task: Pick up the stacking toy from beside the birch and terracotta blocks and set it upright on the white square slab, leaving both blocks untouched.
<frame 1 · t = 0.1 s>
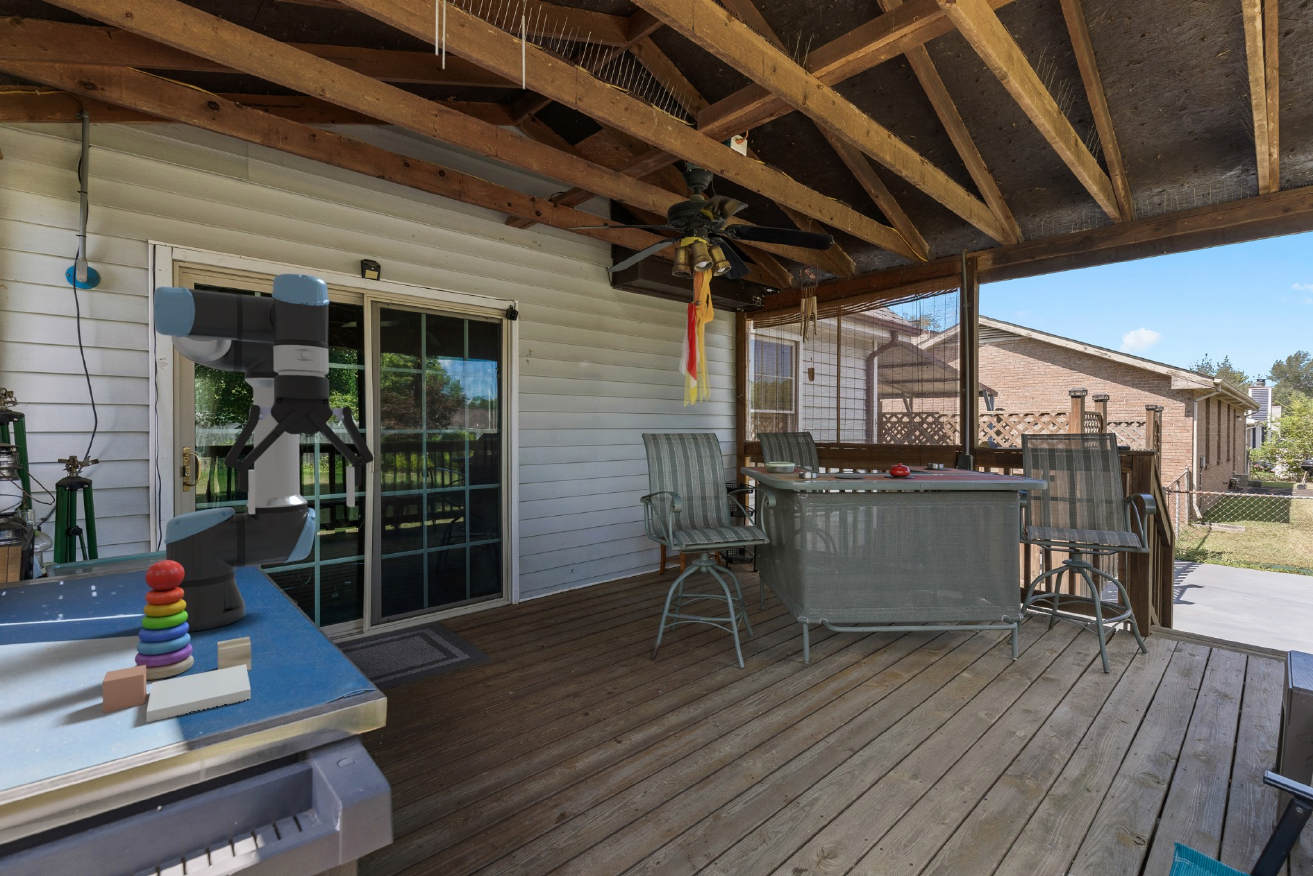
hand: (303, 509, 95), 28 cm above the table, tool pointing down, fingers open, 13 cm apart
terracotta block: (125, 703, 90), on the table
stacking toy: (164, 673, 101), on the table
birch block: (234, 669, 102), on the table
white square slab: (201, 695, 92), on the table
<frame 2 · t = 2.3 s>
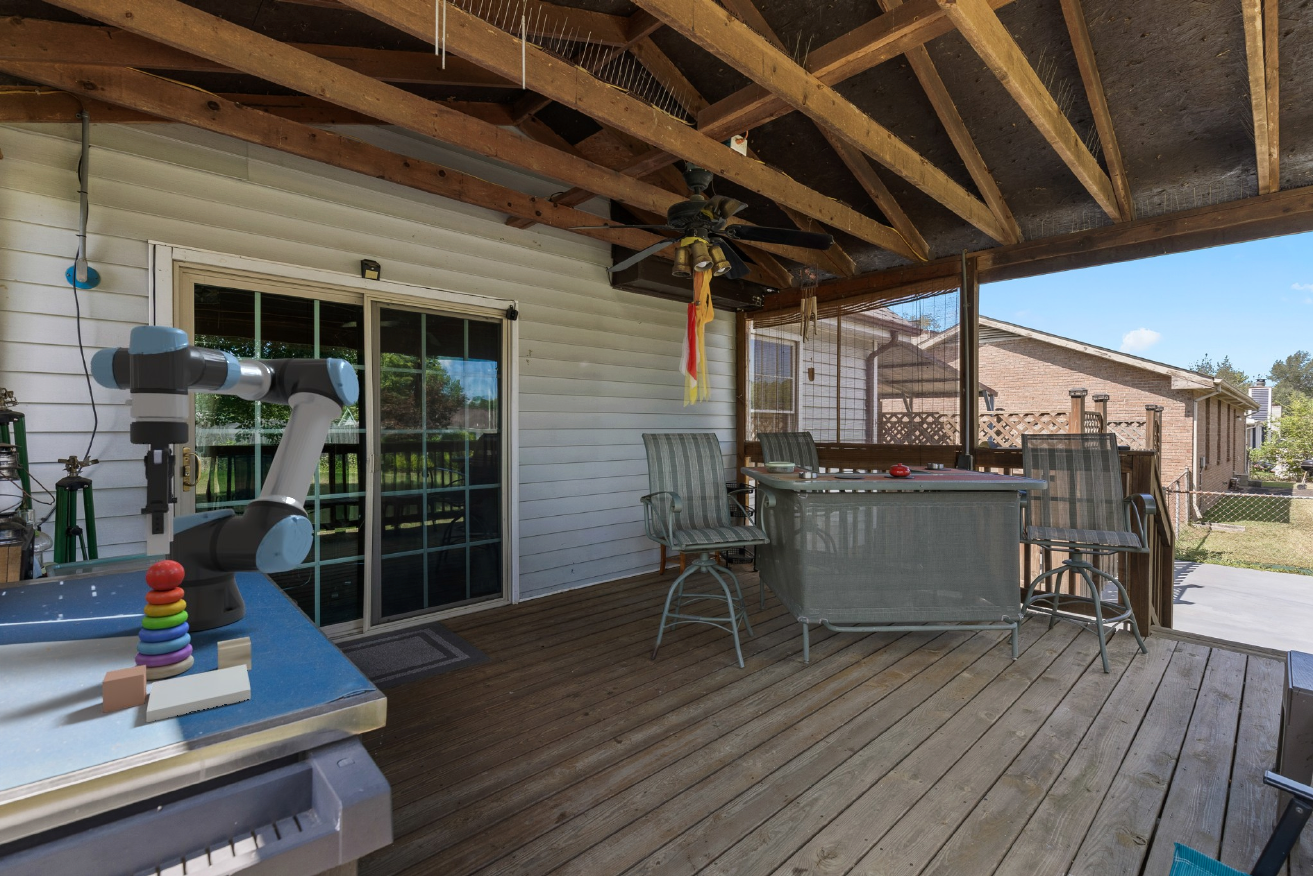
hand: (160, 548, 100), 21 cm above the table, tool pointing down, fingers open, 13 cm apart
nothing on the table moved.
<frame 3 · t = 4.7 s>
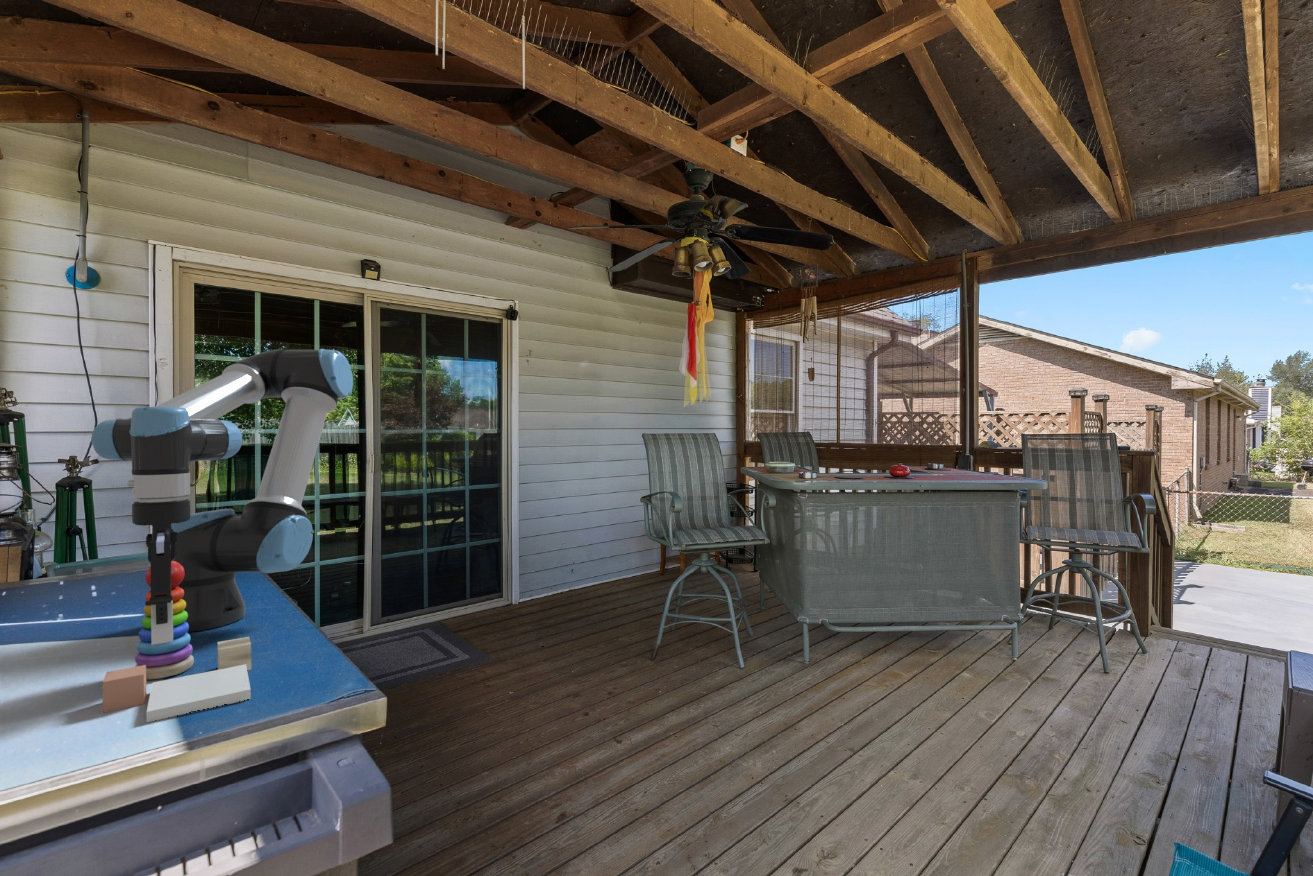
hand: (163, 635, 101), 6 cm above the table, tool pointing down, fingers closed on stacking toy, 7 cm apart
stacking toy: (164, 672, 101), on the table, touching gripper
everything else where it was.
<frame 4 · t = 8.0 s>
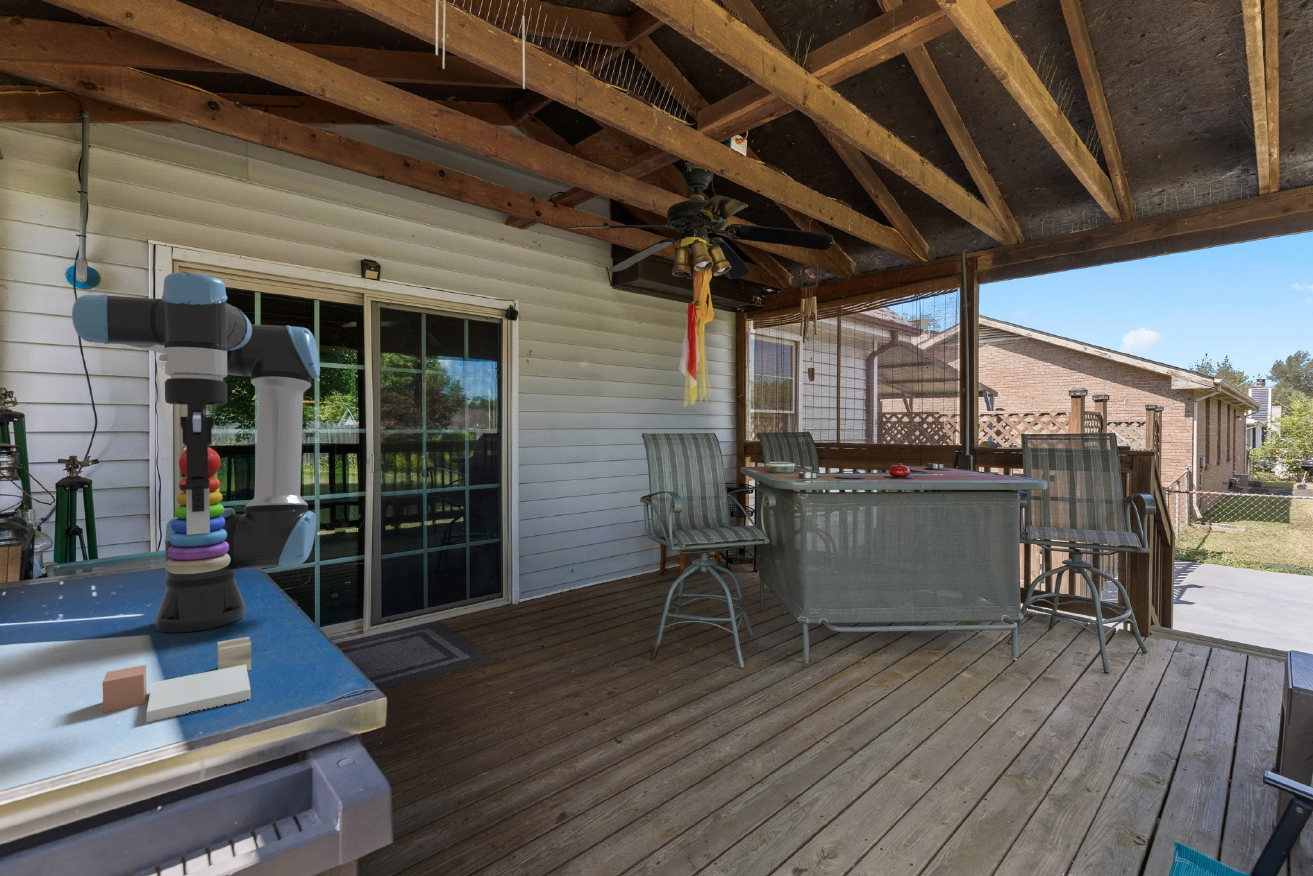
hand: (198, 529, 92), 25 cm above the table, tool pointing down, fingers closed on stacking toy, 7 cm apart
stacking toy: (198, 570, 92), point 19 cm above the table, touching gripper
everything else where it was.
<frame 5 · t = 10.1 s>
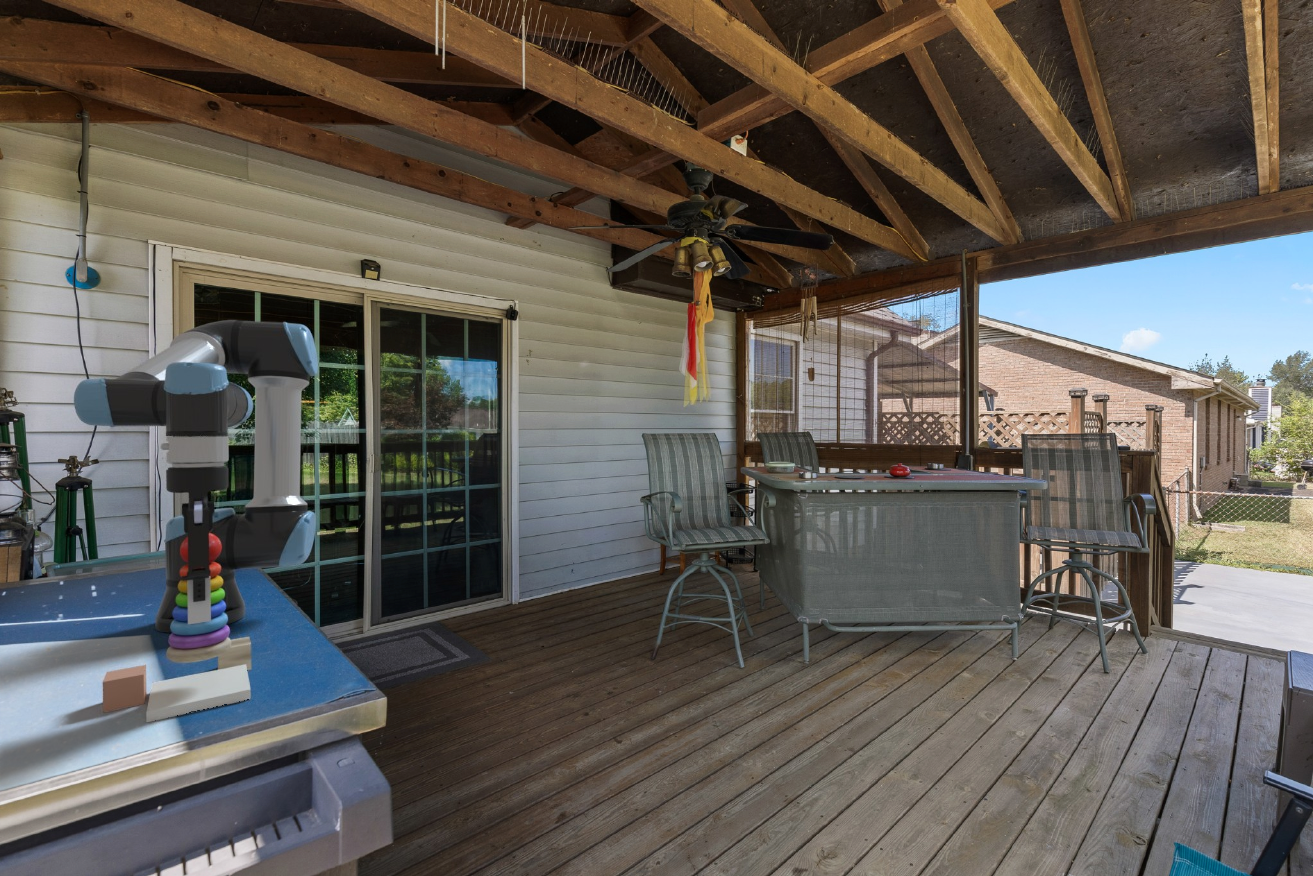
hand: (199, 615, 92), 12 cm above the table, tool pointing down, fingers closed on stacking toy, 7 cm apart
stacking toy: (199, 656, 92), point 6 cm above the table, touching gripper
everything else where it was.
when the fingers open (8 cm above the table, at t = 11.8 s): stacking toy stays where it is, resting on white square slab.
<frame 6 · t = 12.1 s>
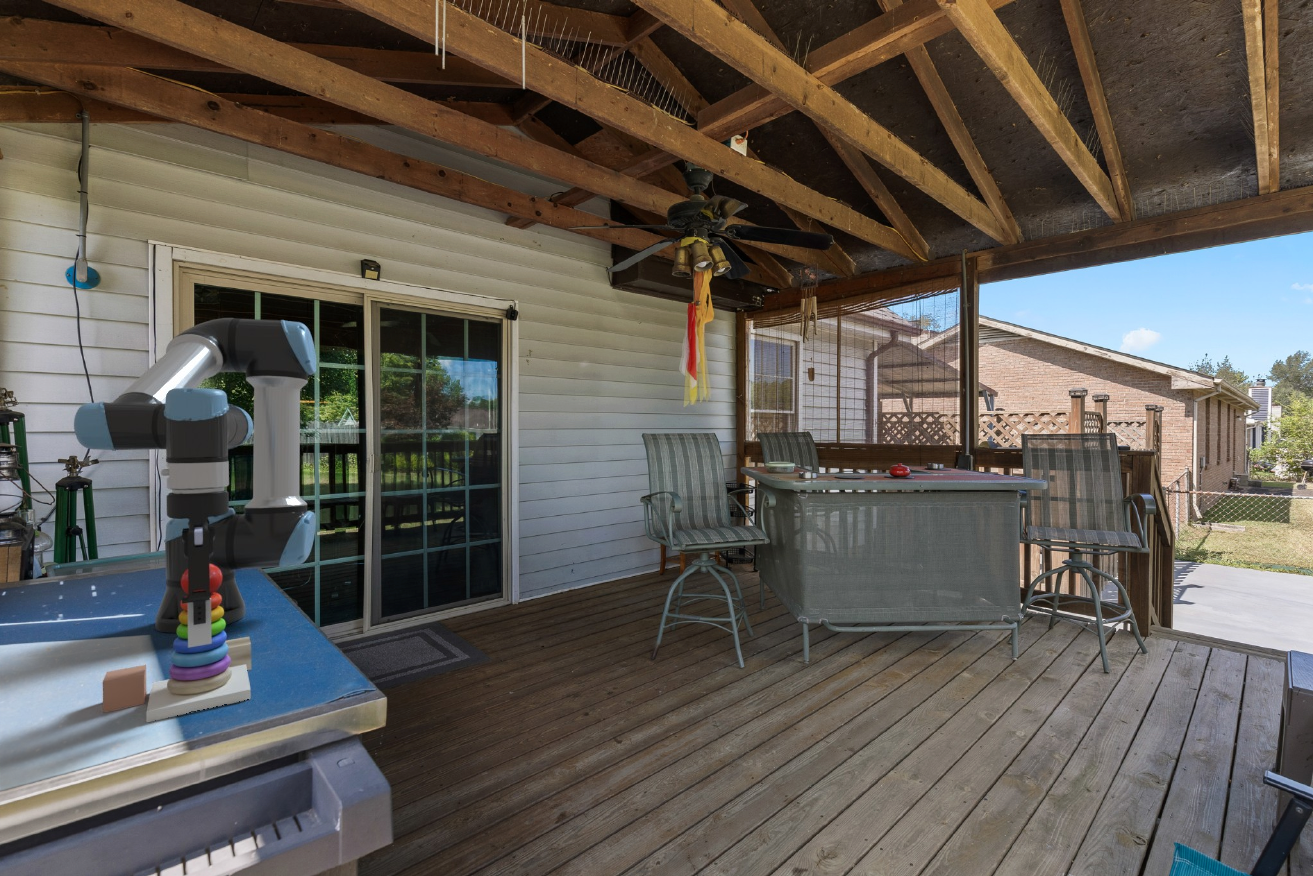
hand: (200, 634, 92), 9 cm above the table, tool pointing down, fingers open, 11 cm apart
stacking toy: (200, 686, 92), point 1 cm above the table, touching white square slab
everything else where it was.
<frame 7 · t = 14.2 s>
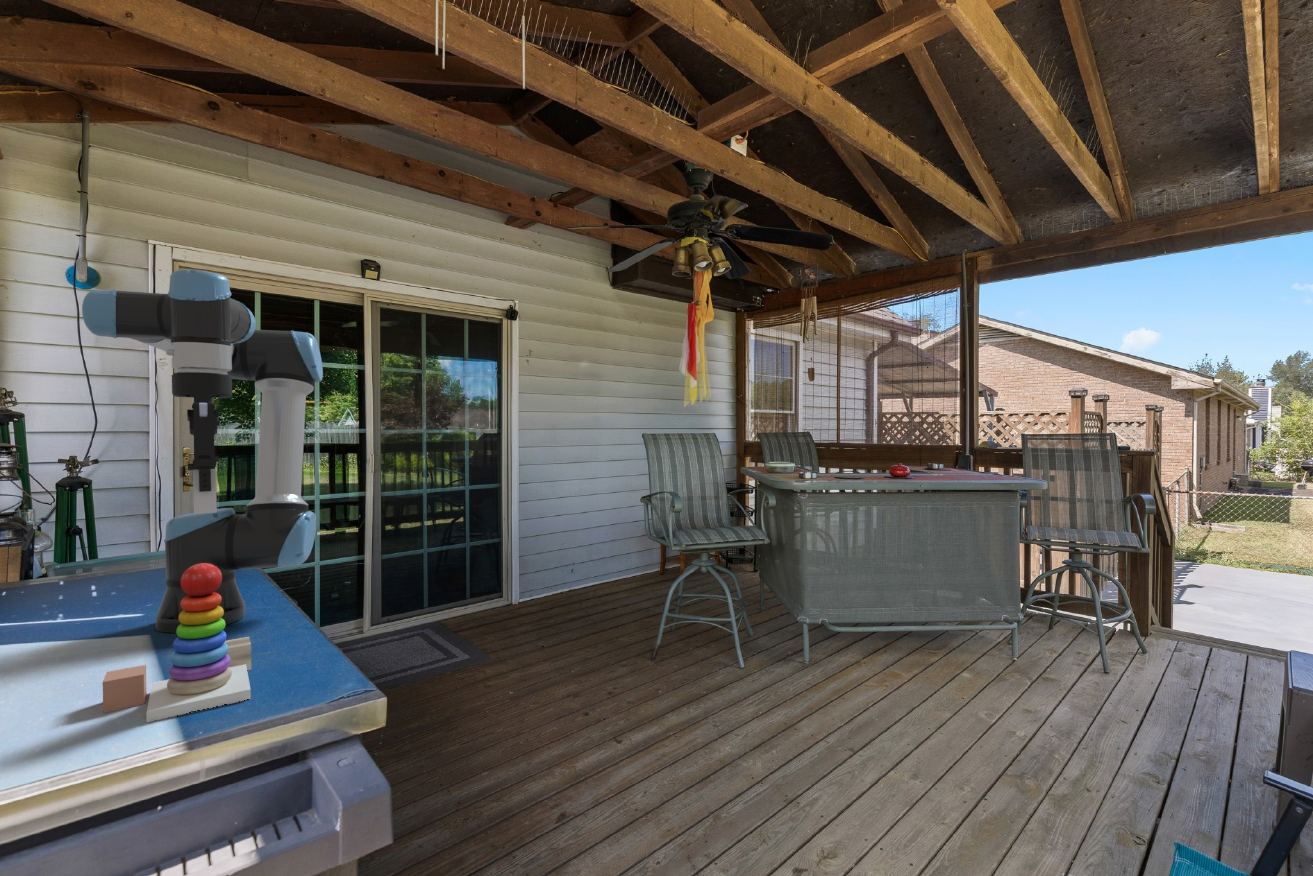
hand: (205, 507, 95), 28 cm above the table, tool pointing down, fingers open, 13 cm apart
nothing on the table moved.
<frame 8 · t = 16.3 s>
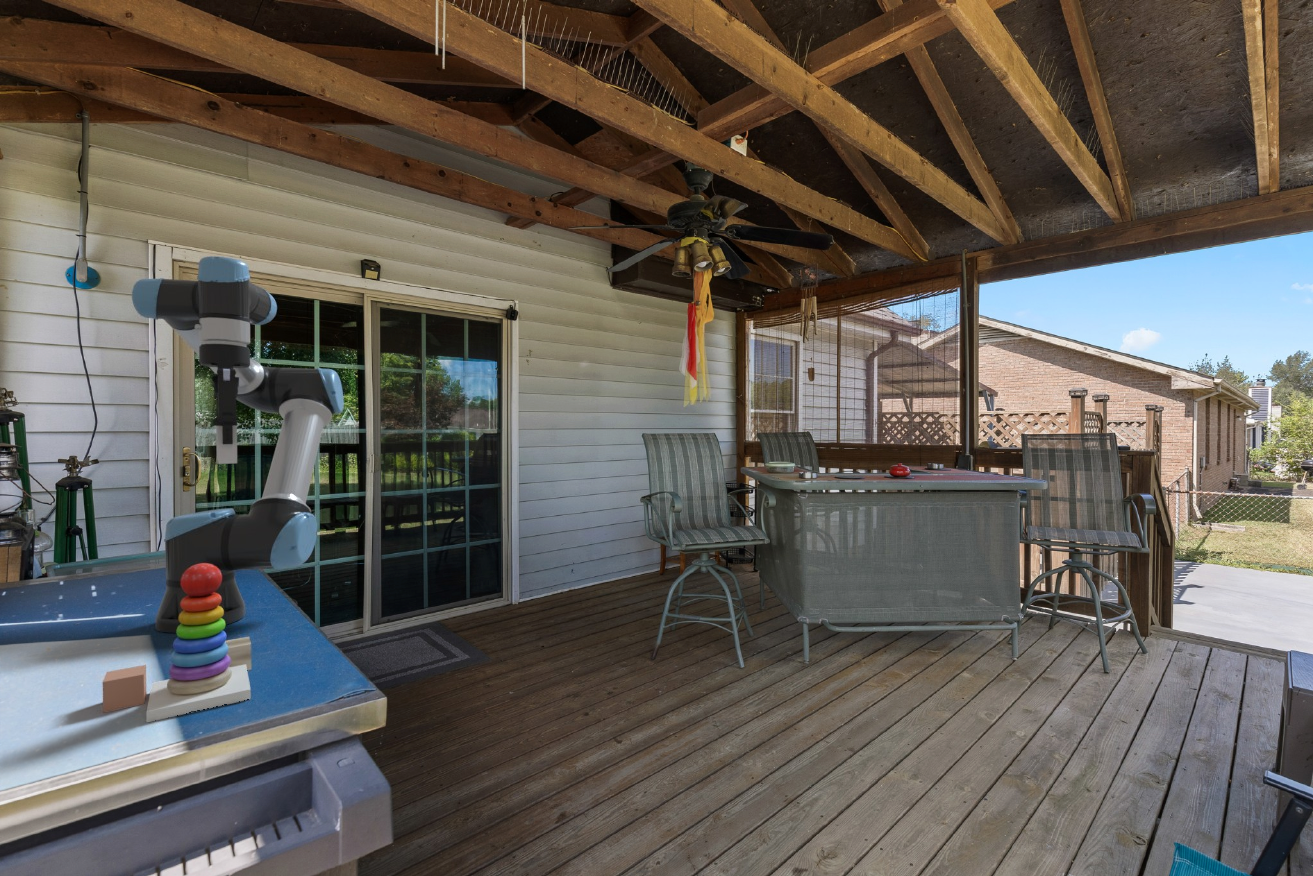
hand: (226, 461, 110), 35 cm above the table, tool pointing down, fingers open, 13 cm apart
nothing on the table moved.
at the end: stacking toy inside the target area on the white square slab (0.2 cm from its centre), point 1.3 cm above the white square slab's base; birch block moved 0.1 cm from its start; terracotta block moved 0.1 cm from its start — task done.
